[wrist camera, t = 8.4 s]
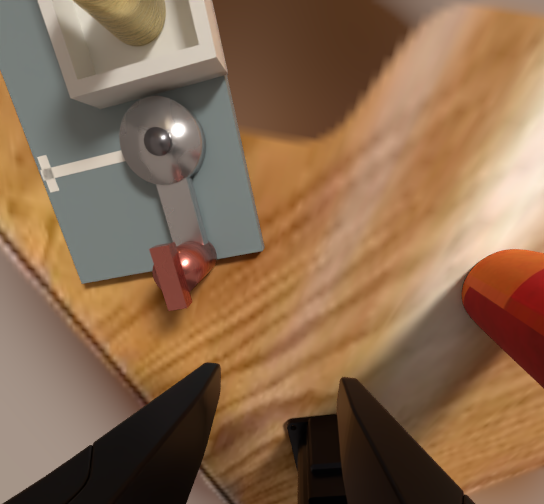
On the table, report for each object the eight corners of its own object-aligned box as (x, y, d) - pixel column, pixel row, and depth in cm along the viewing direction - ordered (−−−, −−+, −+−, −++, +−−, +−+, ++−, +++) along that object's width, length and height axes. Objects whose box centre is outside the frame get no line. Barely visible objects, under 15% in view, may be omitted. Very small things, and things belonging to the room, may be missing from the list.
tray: (228, 74, 17) (216, 57, 15) (100, 109, 18) (70, 98, 16) (190, -102, 15) (169, -155, 13) (50, -51, 16) (6, -91, 14)
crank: (120, 112, 18) (58, 88, 13) (194, 92, 17) (156, 60, 13) (172, 285, 21) (136, 316, 16) (238, 273, 20) (220, 302, 15)
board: (264, 247, 20) (262, 250, 19) (91, 279, 22) (81, 283, 21) (189, -94, 16) (183, -112, 15) (-20, -18, 18) (-38, -30, 17)
